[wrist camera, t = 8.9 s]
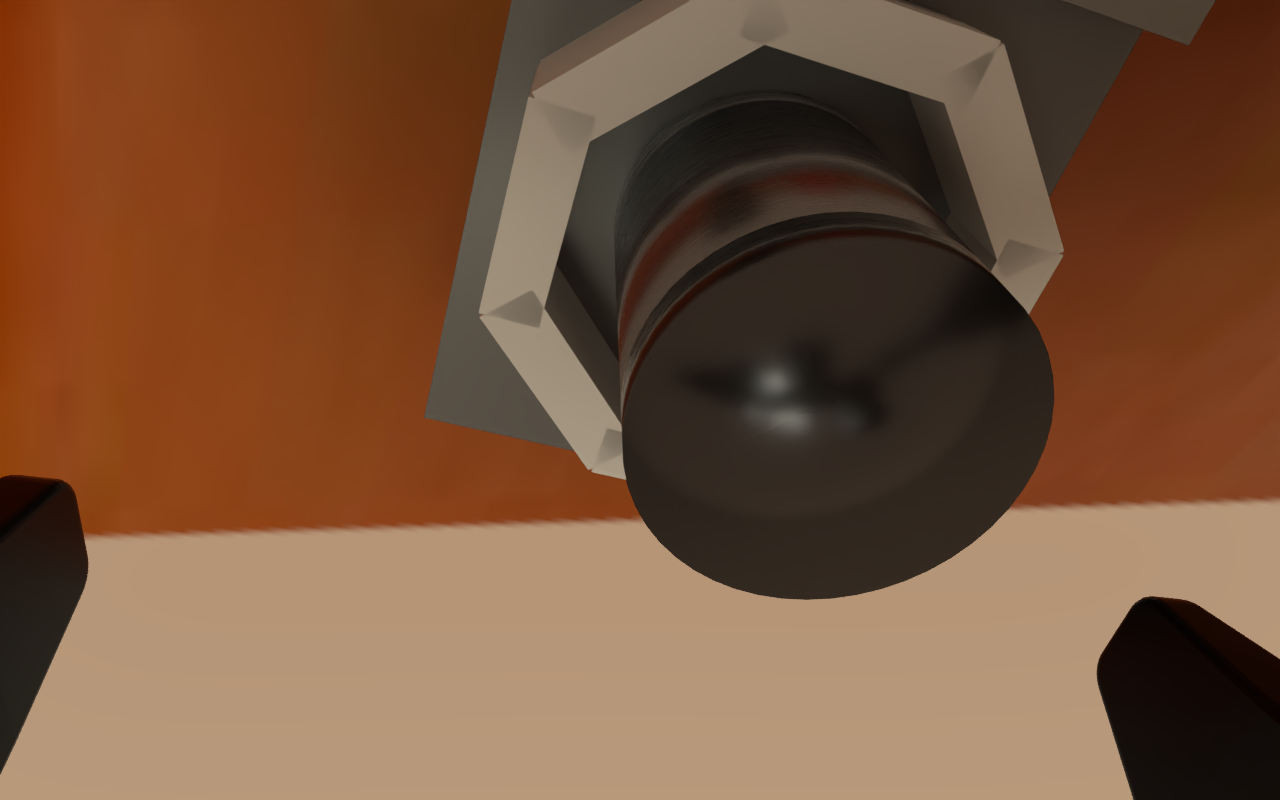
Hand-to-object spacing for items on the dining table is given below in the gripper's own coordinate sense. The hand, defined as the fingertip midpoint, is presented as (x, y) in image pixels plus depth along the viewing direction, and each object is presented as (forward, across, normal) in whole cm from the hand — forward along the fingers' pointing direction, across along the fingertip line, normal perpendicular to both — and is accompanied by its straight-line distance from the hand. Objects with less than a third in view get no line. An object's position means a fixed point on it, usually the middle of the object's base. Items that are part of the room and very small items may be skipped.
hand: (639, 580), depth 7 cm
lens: (+8, -2, 0) cm, 8 cm away
